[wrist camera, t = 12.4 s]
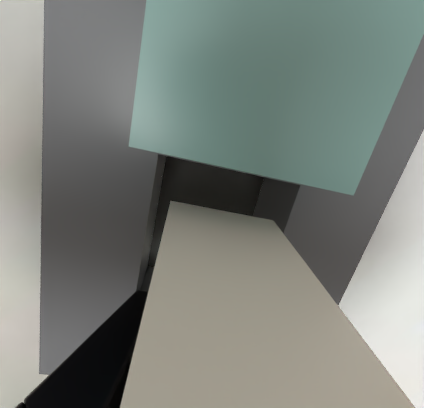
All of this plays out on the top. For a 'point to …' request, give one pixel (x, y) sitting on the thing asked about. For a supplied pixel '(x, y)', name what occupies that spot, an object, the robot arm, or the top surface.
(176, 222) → the grey tall block
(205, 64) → the teal rectangular block
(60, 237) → the socket
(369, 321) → the top surface
